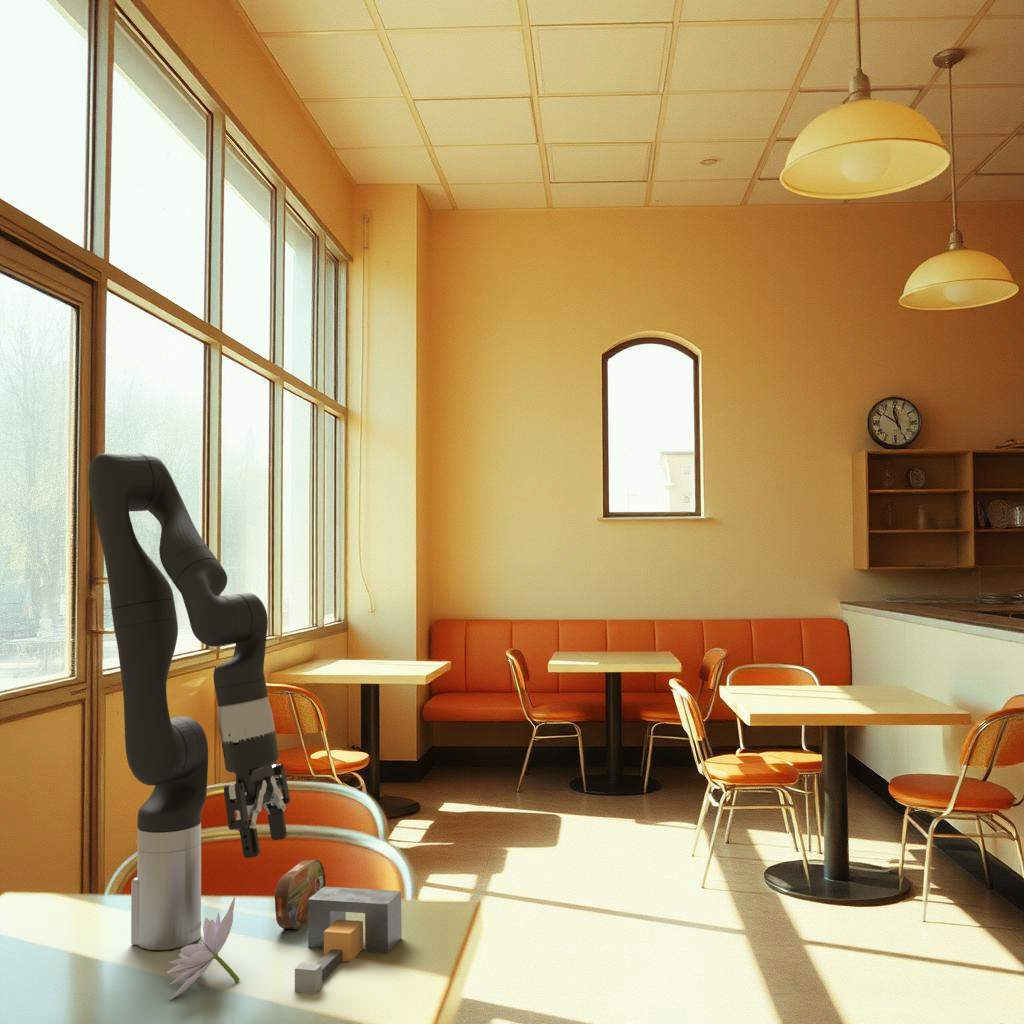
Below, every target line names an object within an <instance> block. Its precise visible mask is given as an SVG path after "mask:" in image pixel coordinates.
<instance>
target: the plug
mask: <svg viewBox="0 0 1024 1024" xmlns="http://www.w3.org/2000/svg"><path fill="white" fill-rule="evenodd" d="M362 950H364V921H362V920H354V919H353V920H350V919H346V920H338V919H337V920H336V921H335V922H334V923H333V924H332V925H331V926H330V927H328V928H327V929H326V930H325V931H324V949H323V957H322V958H321V959H320V960H319V961H318V962H317V963H310V962H308V963H307V962H299V964H298V965H297V966H296V967H295V968H294V992H295V993H306V994H317V993H318V992H319V991H320V990H321V989H322V988H323V982H324V981H325V979H327V978H328V977H329V975H330V974H332V973H333V972H334V970H336V969H337V968H338V967H339V966H340V965H341V964H342V963H343V961H348V962H347V963H350V962H349V961H351V962H352V961H353V960H354V959H355V958H356V957H357V956H358V955H359V954H360V953H361V952H362ZM360 951H361V952H360ZM358 953H359V954H358ZM357 954H358V955H357ZM352 959H353V960H352ZM319 989H320V990H319Z"/></svg>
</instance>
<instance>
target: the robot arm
mask: <svg viewBox="0 0 1024 1024" xmlns="http://www.w3.org/2000/svg"><path fill="white" fill-rule="evenodd" d="M87 477H88V478H87V479H88V480H87V481H88V492H89V497H90V502H91V506H92V511H93V514H94V519H95V522H96V527H97V531H98V536H99V539H100V544H101V548H102V552H103V557H104V563H105V571H106V575H107V583H108V591H109V598H110V599H109V600H110V608H111V609H110V610H111V616H112V623H113V631H114V634H115V635H114V636H115V640H116V645H117V646H116V647H117V652H118V661H119V669H120V679H121V685H122V686H121V687H122V694H123V695H122V696H123V714H124V715H123V718H124V747H125V754H126V759H127V761H126V762H127V764H128V767H129V769H130V771H131V774H132V775H133V776H134V778H135V779H136V780H137V781H138V782H140V783H142V784H143V785H146V786H150V787H151V786H154V787H153V790H152V792H151V794H150V796H149V797H148V799H146V801H145V802H144V803H143V804H142V805H141V806H140V807H139V809H138V811H137V821H136V822H137V825H136V826H137V840H136V841H137V846H136V847H137V865H136V866H137V872H136V873H137V875H136V877H134V878H132V880H131V882H130V883H131V885H130V886H131V889H130V890H131V894H130V895H131V896H130V899H131V901H130V902H131V904H130V909H131V910H130V914H131V915H130V916H131V917H130V919H131V921H130V924H131V925H130V926H131V928H130V944H131V945H136V946H138V947H139V948H141V949H144V950H151V951H165V950H166V951H168V950H173V949H174V950H175V949H179V948H183V947H185V946H187V945H192V944H193V943H195V942H197V941H198V940H199V939H201V936H202V811H203V809H204V807H205V804H206V799H207V795H208V794H207V793H208V774H209V745H208V744H209V743H208V739H207V735H206V733H205V730H204V728H203V727H202V725H201V724H200V723H199V722H198V721H197V720H195V719H194V718H191V717H190V716H175V717H171V716H170V712H169V706H168V705H169V704H168V697H167V696H168V695H167V693H168V692H167V684H168V676H169V672H170V667H171V663H172V662H173V661H172V660H173V658H174V657H173V656H174V653H175V650H176V645H177V640H178V633H179V626H178V625H179V624H178V617H177V610H176V609H177V608H176V603H175V596H174V591H173V589H172V586H171V584H170V583H169V581H168V580H167V578H166V576H165V575H164V574H163V573H162V571H161V570H160V569H159V568H158V566H157V565H156V563H155V562H154V561H153V560H152V559H151V557H150V556H149V555H148V554H147V552H146V551H145V549H143V547H142V545H141V544H140V542H139V540H138V538H137V536H136V534H135V530H134V527H133V523H132V520H131V515H130V512H144V511H145V512H146V511H148V512H149V513H151V515H153V516H154V518H155V519H156V520H157V521H158V522H159V525H160V527H161V531H160V539H159V547H158V548H159V549H158V550H159V551H158V552H159V559H160V562H161V565H162V567H163V569H164V571H165V573H166V574H167V576H168V577H169V578H170V580H171V581H172V583H173V584H174V586H175V588H176V589H177V591H178V592H179V593H180V594H181V597H182V600H183V604H184V607H185V610H186V613H187V617H188V621H189V625H190V629H191V631H192V633H193V635H194V637H195V638H196V639H197V640H198V641H199V642H200V643H202V644H204V645H205V646H207V647H212V648H215V647H223V646H228V645H233V644H234V645H235V647H234V652H233V654H232V655H233V656H232V657H231V658H230V659H229V660H226V661H224V662H223V663H221V664H219V665H218V666H216V667H215V668H214V670H213V674H212V676H213V678H212V679H213V685H214V690H215V697H216V702H217V711H218V712H217V713H218V729H219V734H220V735H219V736H220V740H221V741H220V742H221V748H222V753H223V754H222V755H223V759H224V765H225V770H226V772H229V773H234V774H235V783H231V784H227V785H224V786H223V794H224V803H225V810H226V818H227V819H226V820H227V826H228V829H229V830H230V831H233V830H236V831H237V832H239V835H240V837H239V838H240V842H241V848H242V854H243V857H244V858H246V859H251V858H256V857H258V856H259V855H261V849H260V841H259V836H258V829H257V827H256V824H257V819H258V815H259V814H260V813H261V812H262V807H264V809H265V811H266V812H267V813H268V814H267V820H268V827H269V831H270V832H269V833H270V838H271V841H272V840H273V841H280V840H284V839H286V838H287V836H288V831H287V827H286V826H287V825H286V820H285V814H284V812H285V811H286V809H287V808H286V807H287V806H286V805H287V804H290V802H291V797H290V792H289V791H290V790H289V787H288V782H287V776H286V771H285V766H284V763H277V762H278V761H279V760H280V752H279V746H278V740H277V733H276V729H275V728H276V727H275V722H274V714H273V710H272V708H271V704H270V701H269V697H268V690H267V689H268V688H267V683H266V676H265V672H264V671H265V670H264V669H265V668H264V667H265V657H266V646H267V636H268V628H269V627H268V626H269V623H268V622H269V620H268V613H267V609H266V607H265V605H264V603H263V601H262V600H261V599H260V598H259V596H257V595H256V594H254V593H250V592H242V593H234V594H226V595H221V594H222V593H223V591H224V590H225V589H226V587H227V585H228V575H227V572H226V571H225V569H224V567H223V565H222V564H221V562H219V560H218V559H217V557H216V556H215V555H214V553H213V552H212V551H211V548H209V546H208V545H207V544H206V542H205V541H204V539H203V538H202V535H201V534H200V533H199V532H198V530H197V528H196V527H195V524H194V522H193V520H192V519H191V516H190V514H189V512H188V509H187V506H186V505H185V502H184V499H183V498H182V496H181V494H180V492H179V490H178V488H177V486H176V483H175V482H174V478H173V477H172V475H171V473H170V471H169V470H168V468H167V467H166V465H165V464H164V462H163V461H162V460H161V459H160V458H159V457H157V456H156V455H153V454H151V453H144V452H143V453H142V452H141V453H139V452H138V453H137V452H136V453H135V452H134V453H133V452H104V453H99V454H97V455H96V456H95V457H94V458H93V459H92V461H91V463H90V465H89V469H88V476H87ZM276 763H277V764H276ZM235 813H236V816H235Z"/></svg>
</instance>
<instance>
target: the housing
mask: <svg viewBox="0 0 1024 1024" xmlns="http://www.w3.org/2000/svg"><path fill="white" fill-rule="evenodd" d="M346 913H355V914H364V930H365V931H364V934H365V935H364V936H365V937H364V941H365V943H364V944H365V950H364V951H365V953H367V952H368V953H377V954H378V953H380V954H381V953H382V954H389V953H390V952H391V950H393V948H394V947H395V946H396V945H397V944H398V943H399V942H400V940H401V939H402V891H401V890H391V889H389V890H388V889H387V890H386V889H372V888H371V889H369V888H352V887H341V886H339V887H337V886H325V887H323V888H322V889H320V890H319V891H318V892H317V893H315V894H314V895H313V896H311V897H310V898H309V899H308V921H307V947H308V948H309V947H311V948H312V949H323V948H324V931H325V930H326V929H327V928H328V927H330V926H331V925H332V924H333V923H334V922H335V921H336V920H337V919H338V920H347V919H346V915H347V914H346ZM313 947H314V948H313Z"/></svg>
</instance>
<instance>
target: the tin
mask: <svg viewBox="0 0 1024 1024" xmlns="http://www.w3.org/2000/svg"><path fill="white" fill-rule="evenodd" d="M326 884H327V882H326V871H325V867H324V864H323V862H322V861H321V860H319V859H310V860H309V859H307V860H302V861H300V862H299V863H297V864H296V865H295V866H293V867H292V868H290V869H289V870H288V871H287V872H286V873H285V874H283V875H282V876H281V877H280V878H279V880H278V882H277V883H276V887H275V891H274V908H275V910H274V911H275V920H276V923H277V925H278V926H279V927H280V928H281V929H285V930H286V929H287V930H292V929H293V930H300V929H301V928H302V927H304V925H305V924H307V923H308V899H309V898H310V897H311V896H313V895H314V894H315V893H317V892H318V891H319V890H320V889H322V888H323V887H327V886H326ZM299 928H300V929H299Z"/></svg>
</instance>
